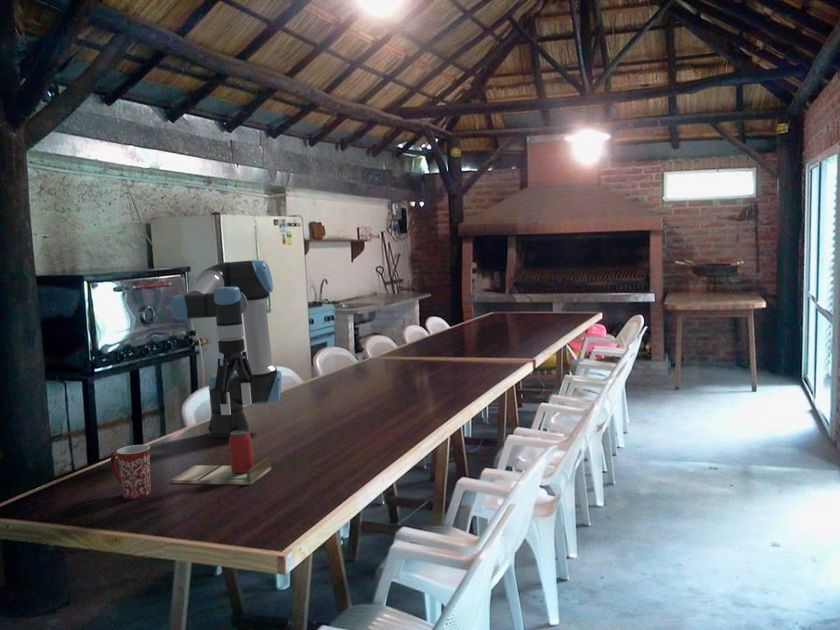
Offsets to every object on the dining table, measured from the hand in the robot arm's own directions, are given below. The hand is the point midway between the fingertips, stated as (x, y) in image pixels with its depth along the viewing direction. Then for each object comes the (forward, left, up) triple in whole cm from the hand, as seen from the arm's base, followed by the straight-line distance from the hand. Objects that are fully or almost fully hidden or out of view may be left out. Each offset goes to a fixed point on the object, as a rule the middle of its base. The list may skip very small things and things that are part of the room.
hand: (236, 409), depth 219 cm
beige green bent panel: (0, -7, -21) cm, 22 cm away
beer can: (0, 0, -19) cm, 19 cm away
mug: (+17, -26, -21) cm, 37 cm away
